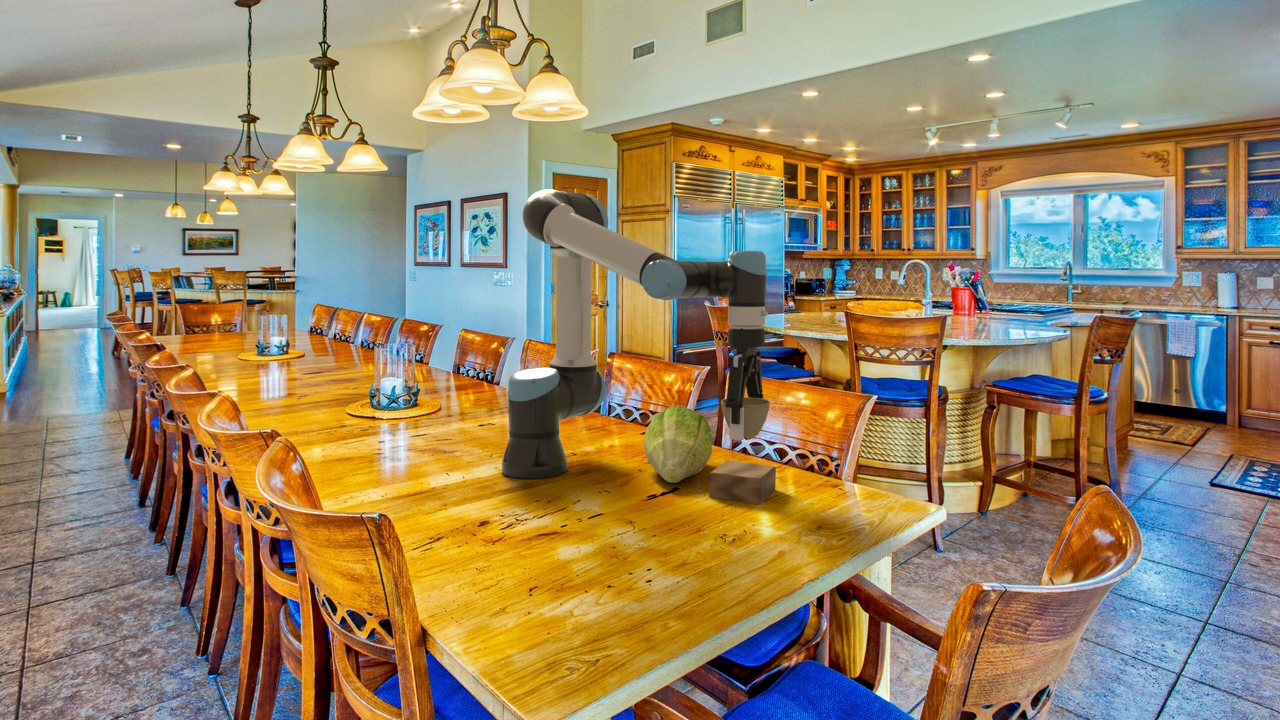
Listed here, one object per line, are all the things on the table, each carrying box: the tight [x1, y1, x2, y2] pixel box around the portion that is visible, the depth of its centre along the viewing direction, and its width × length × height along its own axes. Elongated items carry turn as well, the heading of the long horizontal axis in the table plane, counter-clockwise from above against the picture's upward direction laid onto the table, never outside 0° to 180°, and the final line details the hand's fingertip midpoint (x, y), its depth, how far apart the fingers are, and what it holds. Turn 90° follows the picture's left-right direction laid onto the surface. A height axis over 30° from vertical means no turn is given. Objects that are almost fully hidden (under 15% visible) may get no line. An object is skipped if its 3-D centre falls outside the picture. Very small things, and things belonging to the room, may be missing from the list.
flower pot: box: [720, 397, 771, 438], centre depth 145 cm, size 10×10×7 cm
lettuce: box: [643, 404, 713, 484], centre depth 161 cm, size 15×24×16 cm
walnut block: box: [708, 460, 777, 505], centre depth 147 cm, size 11×11×5 cm
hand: (744, 433), depth 145 cm, fingers closed on flower pot, 10 cm apart
